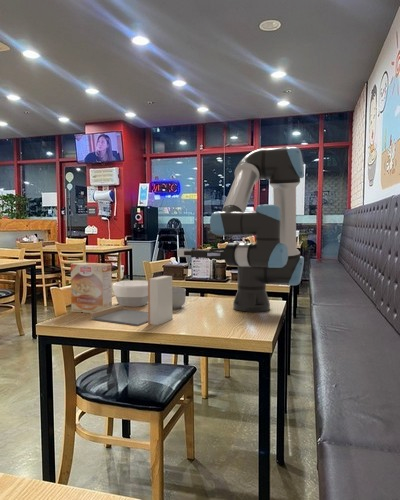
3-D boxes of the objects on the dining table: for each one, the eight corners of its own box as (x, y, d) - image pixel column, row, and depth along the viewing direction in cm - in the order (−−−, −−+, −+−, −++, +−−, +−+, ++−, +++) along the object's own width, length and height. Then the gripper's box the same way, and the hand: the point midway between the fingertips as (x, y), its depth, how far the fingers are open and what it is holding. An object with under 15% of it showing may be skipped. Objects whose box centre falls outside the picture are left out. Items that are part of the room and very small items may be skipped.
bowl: (106, 307, 169) (106, 285, 168) (120, 299, 187) (120, 280, 186) (147, 308, 167) (147, 286, 166) (157, 300, 184) (157, 280, 184)
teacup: (187, 305, 174) (187, 286, 174) (184, 310, 163) (184, 291, 163) (156, 304, 176) (155, 286, 175) (150, 309, 165) (150, 290, 164)
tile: (172, 319, 148) (172, 276, 147) (157, 325, 139) (157, 279, 138) (163, 318, 150) (163, 275, 149) (148, 323, 141) (147, 278, 140)
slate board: (165, 315, 154) (165, 309, 154) (138, 325, 138) (138, 319, 138) (121, 310, 164) (121, 304, 163) (90, 319, 147) (90, 313, 147)
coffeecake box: (70, 311, 161) (69, 263, 159) (81, 308, 167) (80, 262, 166) (102, 314, 156) (101, 264, 154) (112, 311, 162) (111, 263, 161)
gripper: (247, 242, 135) (188, 242, 147) (230, 243, 124) (167, 242, 136) (247, 265, 135) (188, 262, 147) (230, 267, 124) (167, 264, 136)
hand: (178, 252), depth 141 cm, fingers closed
